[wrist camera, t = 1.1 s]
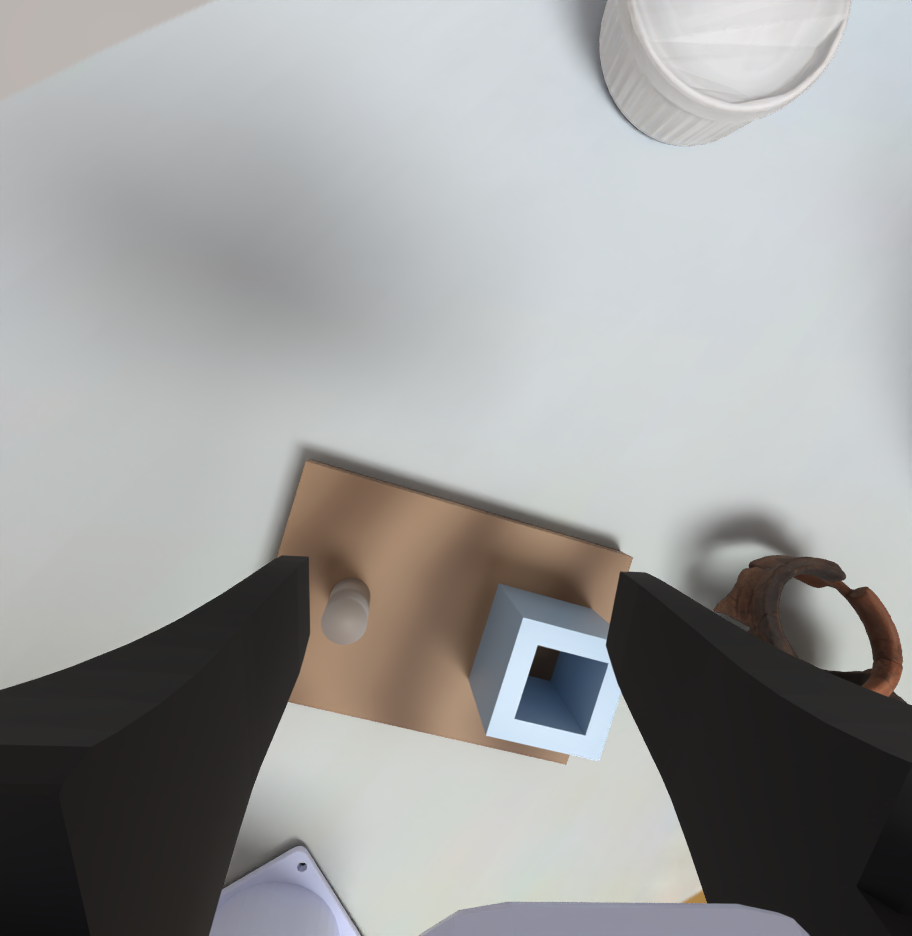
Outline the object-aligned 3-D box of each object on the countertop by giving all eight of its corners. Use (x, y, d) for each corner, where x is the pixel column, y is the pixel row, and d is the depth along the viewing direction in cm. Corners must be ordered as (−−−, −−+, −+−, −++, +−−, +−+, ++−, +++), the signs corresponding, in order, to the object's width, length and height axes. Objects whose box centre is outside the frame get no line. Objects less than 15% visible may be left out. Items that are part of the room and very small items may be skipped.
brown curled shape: (641, 676, 30) (729, 661, 23) (690, 550, 35) (776, 504, 28) (827, 797, 29) (981, 821, 22) (852, 650, 34) (988, 630, 26)
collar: (591, 608, 28) (636, 647, 23) (561, 702, 28) (599, 761, 23) (498, 583, 27) (523, 617, 22) (468, 679, 27) (485, 735, 22)
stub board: (620, 551, 29) (667, 575, 24) (557, 747, 29) (590, 811, 25) (310, 459, 27) (292, 465, 22) (245, 676, 27) (212, 730, 22)
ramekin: (667, 211, 28) (730, 161, 23) (537, 42, 27) (572, -53, 22) (808, 80, 29) (900, 2, 24) (687, -94, 27) (758, -218, 22)
